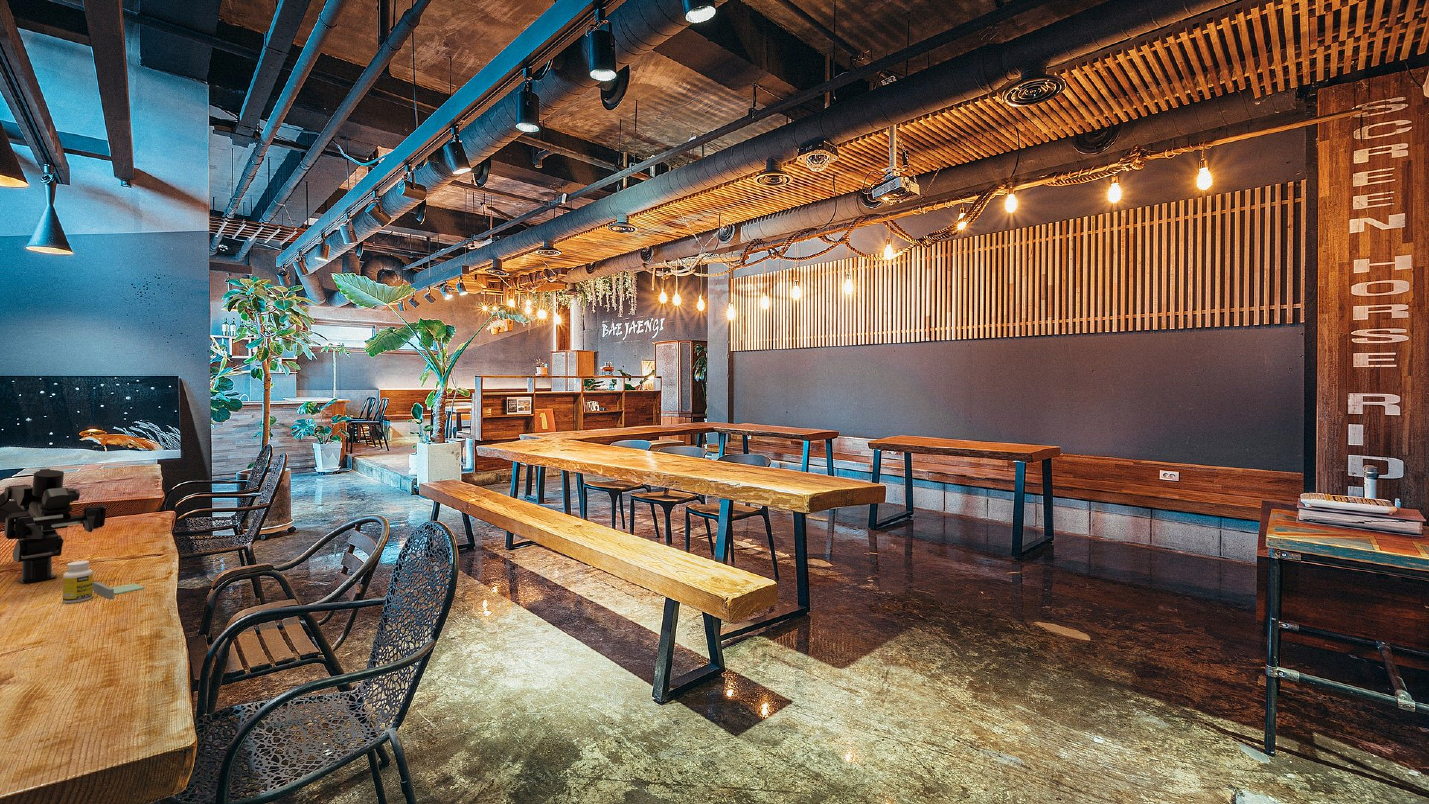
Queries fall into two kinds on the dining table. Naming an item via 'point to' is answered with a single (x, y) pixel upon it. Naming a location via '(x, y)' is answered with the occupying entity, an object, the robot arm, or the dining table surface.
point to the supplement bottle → (77, 582)
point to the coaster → (127, 588)
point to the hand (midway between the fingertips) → (67, 533)
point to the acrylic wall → (103, 590)
